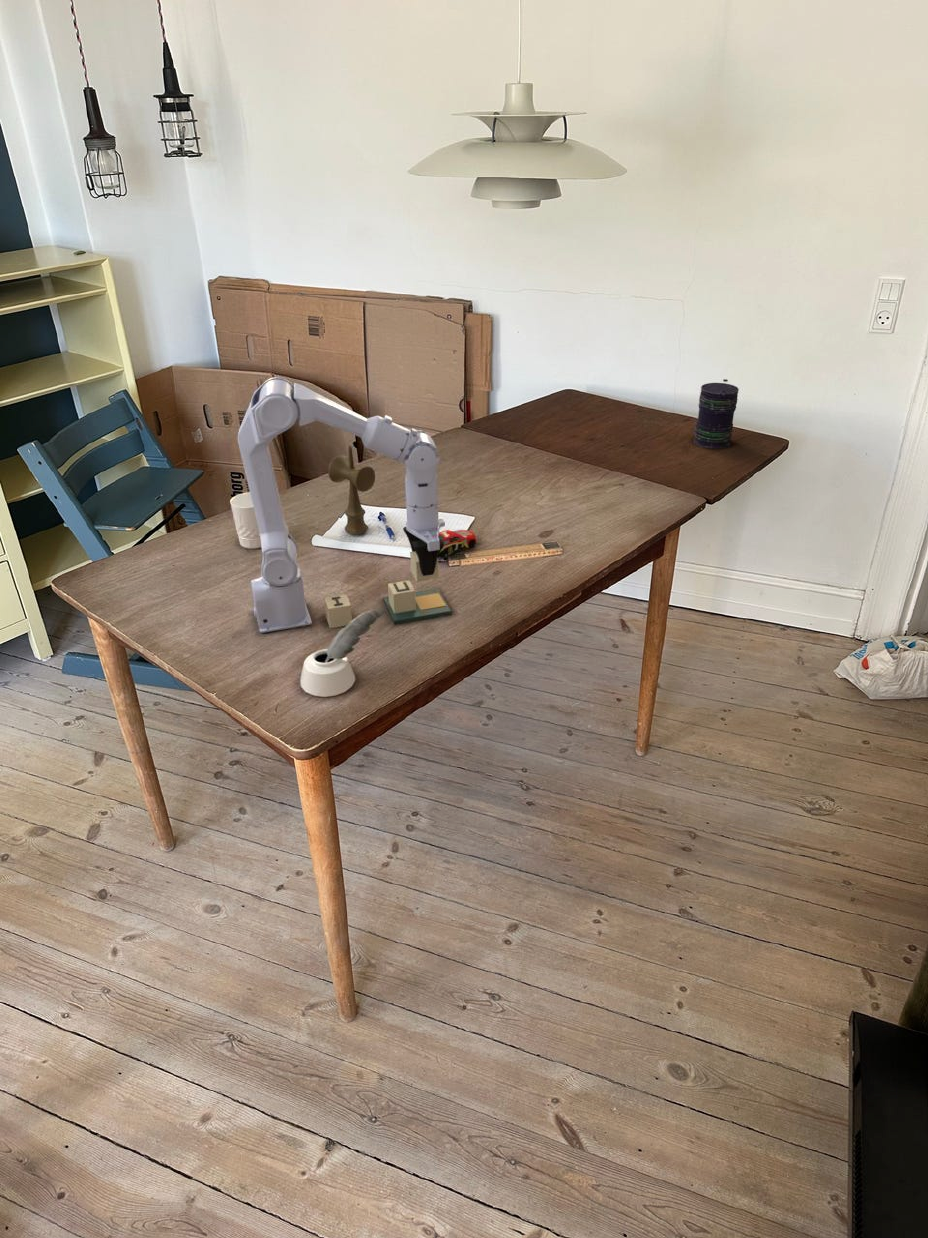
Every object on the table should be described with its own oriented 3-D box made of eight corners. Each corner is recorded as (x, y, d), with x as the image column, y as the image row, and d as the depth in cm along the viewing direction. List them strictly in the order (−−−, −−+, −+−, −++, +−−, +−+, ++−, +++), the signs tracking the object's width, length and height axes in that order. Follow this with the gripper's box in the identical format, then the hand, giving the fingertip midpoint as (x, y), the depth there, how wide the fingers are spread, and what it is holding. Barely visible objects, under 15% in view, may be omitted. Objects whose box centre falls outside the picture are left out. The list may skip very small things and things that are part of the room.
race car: (466, 536, 194) (466, 519, 192) (481, 545, 190) (481, 528, 188) (416, 553, 187) (416, 536, 185) (431, 562, 183) (430, 545, 181)
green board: (394, 624, 163) (394, 620, 163) (383, 600, 170) (383, 596, 170) (451, 614, 166) (451, 610, 165) (437, 591, 173) (437, 587, 173)
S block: (416, 582, 163) (415, 561, 161) (410, 571, 166) (409, 551, 164) (438, 578, 164) (438, 557, 162) (432, 568, 167) (431, 547, 165)
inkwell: (289, 681, 148) (282, 631, 143) (371, 639, 159) (367, 591, 154) (322, 705, 142) (316, 653, 137) (405, 659, 153) (403, 610, 148)
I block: (330, 628, 162) (327, 608, 160) (325, 617, 165) (323, 597, 163) (352, 624, 163) (350, 604, 161) (347, 613, 167) (346, 593, 164)
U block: (394, 613, 165) (393, 593, 162) (389, 602, 168) (387, 582, 166) (416, 610, 166) (415, 590, 164) (410, 599, 169) (409, 579, 167)
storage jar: (688, 436, 246) (697, 371, 236) (722, 434, 246) (732, 370, 237) (700, 449, 237) (710, 383, 228) (736, 447, 238) (746, 381, 228)
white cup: (229, 546, 190) (222, 504, 185) (249, 531, 196) (243, 490, 191) (261, 552, 188) (255, 509, 183) (280, 536, 194) (275, 494, 189)
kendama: (352, 520, 201) (345, 436, 190) (381, 533, 195) (375, 447, 185) (332, 529, 197) (324, 443, 187) (360, 542, 192) (354, 455, 181)
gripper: (455, 514, 152) (456, 583, 159) (432, 483, 164) (434, 548, 171) (416, 520, 150) (419, 589, 158) (395, 488, 162) (398, 553, 169)
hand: (424, 568), depth 164 cm, fingers closed on S block, 4 cm apart
